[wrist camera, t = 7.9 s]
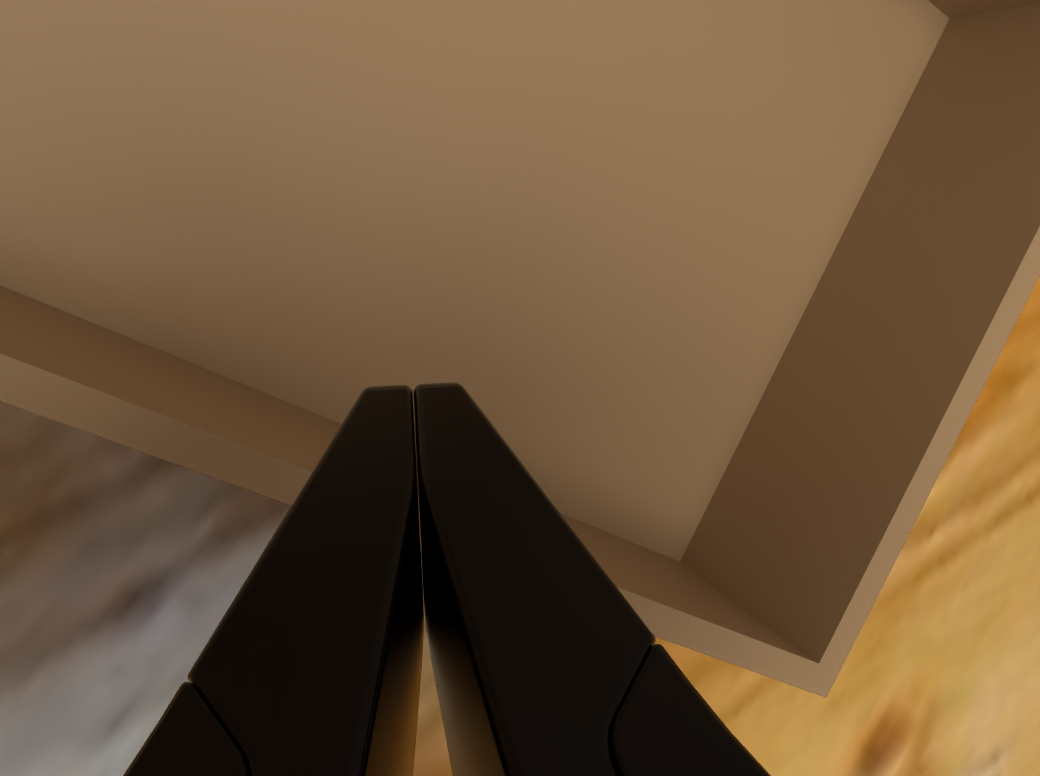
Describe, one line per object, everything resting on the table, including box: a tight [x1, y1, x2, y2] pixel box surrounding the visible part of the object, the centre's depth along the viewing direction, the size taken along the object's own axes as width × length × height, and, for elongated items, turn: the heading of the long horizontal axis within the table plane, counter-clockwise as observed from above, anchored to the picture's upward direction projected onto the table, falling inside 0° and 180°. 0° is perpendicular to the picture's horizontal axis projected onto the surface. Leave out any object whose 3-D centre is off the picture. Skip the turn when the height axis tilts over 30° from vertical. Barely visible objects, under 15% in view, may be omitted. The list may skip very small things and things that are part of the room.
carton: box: [0, 0, 1040, 698], centre depth 17 cm, size 16×24×6 cm, turn 62°
